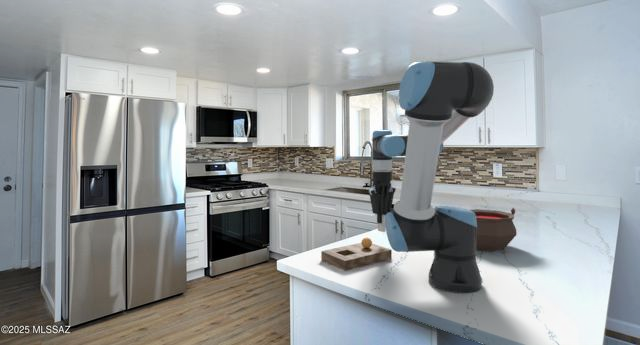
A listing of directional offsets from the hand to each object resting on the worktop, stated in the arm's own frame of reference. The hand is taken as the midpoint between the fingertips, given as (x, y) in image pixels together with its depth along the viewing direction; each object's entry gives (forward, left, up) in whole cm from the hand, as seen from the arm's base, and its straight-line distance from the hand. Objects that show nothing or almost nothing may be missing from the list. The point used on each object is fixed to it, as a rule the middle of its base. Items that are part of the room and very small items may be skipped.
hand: (381, 231), depth 139 cm
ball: (0, +8, -3) cm, 9 cm away
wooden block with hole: (0, +13, -9) cm, 16 cm away
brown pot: (-19, -41, -9) cm, 46 cm away
